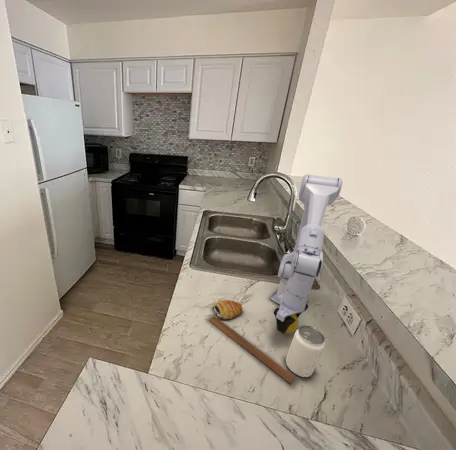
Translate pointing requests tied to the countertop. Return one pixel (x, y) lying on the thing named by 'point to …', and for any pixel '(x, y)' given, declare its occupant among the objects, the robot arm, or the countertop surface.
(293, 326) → the lemon
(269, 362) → the strip
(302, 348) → the can
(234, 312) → the pastry
